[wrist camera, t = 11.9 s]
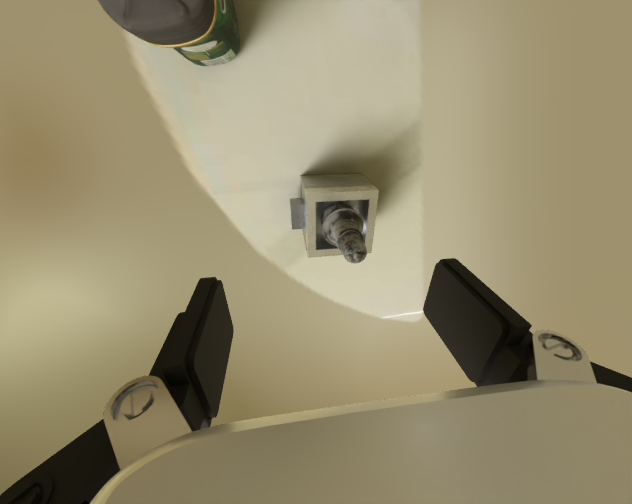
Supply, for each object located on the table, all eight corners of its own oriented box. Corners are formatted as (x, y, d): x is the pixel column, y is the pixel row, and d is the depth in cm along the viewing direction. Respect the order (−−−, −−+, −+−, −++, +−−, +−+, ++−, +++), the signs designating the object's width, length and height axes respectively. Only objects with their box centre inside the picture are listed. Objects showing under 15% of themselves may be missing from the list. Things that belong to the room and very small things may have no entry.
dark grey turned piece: (330, 241, 40) (347, 289, 30) (312, 212, 37) (324, 254, 27) (363, 223, 39) (392, 266, 29) (347, 192, 36) (373, 227, 26)
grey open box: (288, 175, 41) (290, 194, 33) (360, 173, 42) (379, 189, 34) (292, 245, 47) (295, 274, 39) (354, 241, 49) (369, 268, 41)
